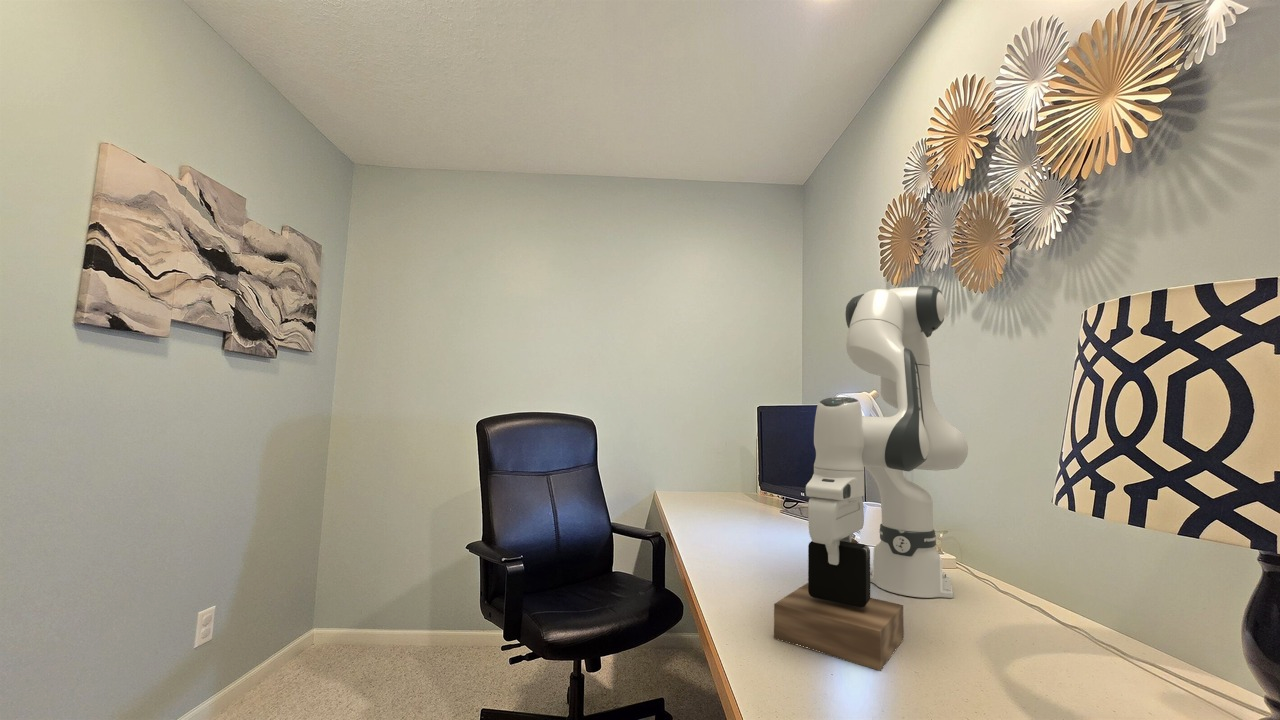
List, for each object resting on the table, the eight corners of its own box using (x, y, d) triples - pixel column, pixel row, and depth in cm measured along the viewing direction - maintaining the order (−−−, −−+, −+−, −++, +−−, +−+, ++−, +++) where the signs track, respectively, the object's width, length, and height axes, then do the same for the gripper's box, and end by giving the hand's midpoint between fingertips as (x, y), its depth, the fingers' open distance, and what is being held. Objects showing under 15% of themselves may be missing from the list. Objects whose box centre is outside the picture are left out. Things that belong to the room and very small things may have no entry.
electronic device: (814, 590, 102) (814, 536, 103) (870, 602, 96) (870, 545, 97) (808, 596, 98) (808, 540, 99) (866, 608, 93) (865, 549, 94)
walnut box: (806, 613, 108) (806, 583, 109) (903, 639, 97) (903, 605, 98) (773, 638, 96) (774, 603, 96) (880, 670, 85) (880, 631, 85)
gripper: (839, 478, 109) (839, 548, 108) (801, 487, 93) (801, 568, 92) (872, 481, 105) (872, 553, 104) (838, 491, 89) (838, 576, 88)
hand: (838, 561), depth 98 cm, fingers closed on electronic device, 3 cm apart
